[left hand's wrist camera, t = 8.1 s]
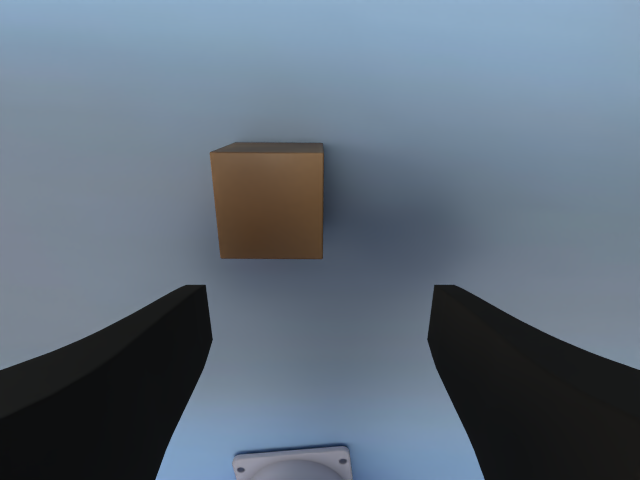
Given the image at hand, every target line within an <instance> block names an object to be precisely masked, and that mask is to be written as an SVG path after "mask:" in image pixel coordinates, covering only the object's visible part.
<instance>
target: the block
mask: <svg viewBox="0 0 640 480" xmlns="http://www.w3.org/2000/svg"><path fill="white" fill-rule="evenodd" d="M210 160H211V170H212V180H213V189H214V199H215V209H216V218H217V228H218V238H219V247H220V257H221V258H222V259H322V258H323V183H324V151H323V143H244V142H235V143H233V144H230V145H227V146H225V147H222V148H220V149H217V150H215V151H212V152H210Z"/></svg>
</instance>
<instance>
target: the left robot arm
mask: <svg viewBox="0 0 640 480" xmlns="http://www.w3.org/2000/svg"><path fill="white" fill-rule="evenodd" d="M212 340H213V338H212V331H211V323H210V315H209V308H208V300H207V292H206V285H185V286H182V287H180V288H178V289H176V290H174V291H172V292H170V293H169V294H167V295H165V296H163V297H161V298H160V299H158V300H156V301H154V302H153V303H151V304H149V305H147V306H145V307H144V308H142V309H140V310H138V311H137V312H135V313H133V314H131V315H129V316H127V317H125V318H123V319H121V320H120V321H118V322H116V323H114V324H112V325H110V326H108V327H106V328H104V329H102V330H100V331H98V332H96V333H94V334H92V335H90V336H87V337H85V338H83V339H81V340H79V341H76V342H74V343H72V344H69V345H67V346H65V347H62V348H60V349H57V350H55V351H52V352H50V353H47V354H44V355H42V356H39V357H36V358H33V359H31V360H28V361H25V362H22V363H19V364H17V365H14V366H11V367H8V368H6V369H3V370H0V480H155V479H156V476H157V473H158V471H159V468H160V465H161V462H162V459H163V457H164V454H165V451H166V449H167V446H168V444H169V442H170V439H171V437H172V435H173V432H174V430H175V428H176V426H177V424H178V422H179V420H180V418H181V416H182V414H183V411H184V409H185V407H186V405H187V403H188V401H189V399H190V397H191V395H192V393H193V390H194V388H195V386H196V384H197V382H198V380H199V378H200V375H201V373H202V371H203V369H204V366H205V363H206V360H207V357H208V354H209V350H210V347H211V344H212ZM427 340H428V343H429V347H430V350H431V354H432V357H433V360H434V363H435V366H436V369H437V371H438V373H439V375H440V378H441V380H442V382H443V384H444V386H445V388H446V390H447V393H448V395H449V397H450V399H451V401H452V403H453V405H454V407H455V409H456V411H457V414H458V416H459V418H460V420H461V422H462V424H463V426H464V428H465V430H466V432H467V435H468V437H469V439H470V442H471V444H472V446H473V449H474V451H475V454H476V457H477V459H478V462H479V465H480V468H481V471H482V473H483V476H484V479H485V480H640V370H638V369H635V368H632V367H629V366H626V365H624V364H621V363H618V362H615V361H612V360H609V359H606V358H604V357H601V356H598V355H596V354H593V353H591V352H588V351H586V350H583V349H581V348H578V347H576V346H574V345H571V344H569V343H567V342H564V341H562V340H559V339H557V338H555V337H553V336H551V335H548V334H546V333H544V332H542V331H540V330H538V329H536V328H534V327H532V326H530V325H528V324H526V323H524V322H522V321H520V320H518V319H517V318H515V317H513V316H511V315H509V314H507V313H505V312H504V311H502V310H500V309H498V308H496V307H495V306H493V305H491V304H489V303H488V302H486V301H484V300H482V299H481V298H479V297H477V296H475V295H473V294H472V293H470V292H468V291H466V290H464V289H462V288H460V287H458V286H455V285H434V292H433V300H432V308H431V315H430V323H429V331H428V339H427ZM232 465H233V468H234V472H235V475H236V479H237V480H353V478H352V469H351V461H350V452H349V449H348V448H347V447H345V446H337V447H325V448H313V449H301V450H289V451H277V452H265V453H253V454H241V455H236V456H235V457H234V458H233V462H232Z"/></svg>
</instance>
